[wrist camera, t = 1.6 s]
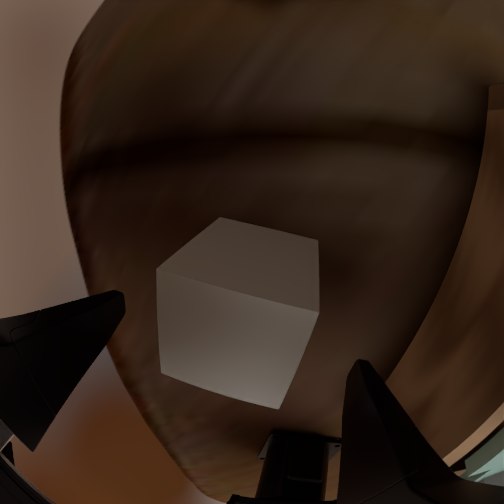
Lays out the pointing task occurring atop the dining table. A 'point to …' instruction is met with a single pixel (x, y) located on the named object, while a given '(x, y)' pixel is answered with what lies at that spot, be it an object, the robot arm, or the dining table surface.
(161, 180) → the dining table surface
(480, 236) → the box frame
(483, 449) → the trapdoor
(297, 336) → the grey block
